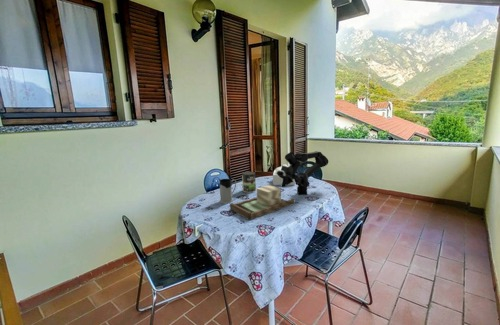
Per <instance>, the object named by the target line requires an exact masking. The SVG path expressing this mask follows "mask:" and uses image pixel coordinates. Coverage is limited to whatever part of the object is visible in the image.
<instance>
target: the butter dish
mask: <svg viewBox="0 0 500 325" xmlns="http://www.w3.org/2000/svg"><path fill="white" fill-rule="evenodd" d="M282 166H285V167H289V166H288V165H287V164H286V163H285V164H284V163H283V164H282V165H281V166H279V167H276V168H275V169H274V171H273V174H272V186H282V182H283V178H280V177H279V176H278V175H277V172H278V171H281V168H282ZM282 172H283V173H284V171H282ZM284 174H286V173H284ZM295 185H296V183H295V179H294V180H293V182H291V183H290V184H288V185H287V186H295Z"/></svg>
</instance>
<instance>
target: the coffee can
mask: <svg viewBox="0 0 500 325" xmlns="http://www.w3.org/2000/svg"><path fill="white" fill-rule="evenodd" d="M241 175H242V176H241V178H242V192H243V193H248V194H249V193H254V192H257V186H256V185H257V184H256V172H255V171H244V172H241Z"/></svg>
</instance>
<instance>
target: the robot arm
mask: <svg viewBox="0 0 500 325" xmlns="http://www.w3.org/2000/svg"><path fill="white" fill-rule="evenodd" d="M284 159H285V161H287V163H288V164H289V166H288V167H285V166H282V165H281V167H282V168H281V171H278V172H277V175H278V176H279V177H280V178H283V182H282V185H281V187H282V188H284V187H286V186H289V185H288V184H290V183H291V182H293V180H294V179H295V185H296V186H297V187H296V188H297V189H296V190H297V191H296V193H297V195H299V196H300V195H301V196H304V195H305V196H307V195H308V188H309V187H310V184H311V183H310V181H309V178H310V177H312V176H313V174H315V173H316V172H318V170H319V169H320V168H324V167H326V166H327V165H328V164H329V159H328V158H327V157H326V156H325V154H323V153H322V152H321V151H312V152H304V153H303V152H296V153H294V152H293V151H290V152H288V153H286V154H285V156H284ZM309 159H314V160H315V163H314V164H312V165H311V166H310V167H309V168H307V170H305V171H304V172H300V171H299V172H298V170H299V168H300V167H303V163H304V162H307V161H308V160H309ZM282 171H284V173H286V174H284V173H283V172H282Z"/></svg>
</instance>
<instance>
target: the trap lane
mask: <svg viewBox="0 0 500 325" xmlns="http://www.w3.org/2000/svg"><path fill="white" fill-rule="evenodd" d="M294 204H295V199H294V198H291V199H288V200H286V199H282V198H281V202H279V203H276V204H273V205H270V206H266V205H264V204H262V203H259V202H257V196H256V197H254V198H250V199H246V200H243V201H239V202H237V203H233V202H231V203H229V207H230V208H229V209H230V211H232V212H234V213H236V214H237V215H240V216H242V217H244V218H245V219H247V220H249V221H250V220H252V219H255V218H258V217H261V216H264V215H268V214H270V213H272V212H276V211H278V210H280V209H283V208H287V207H290V206H292V205H294Z"/></svg>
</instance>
